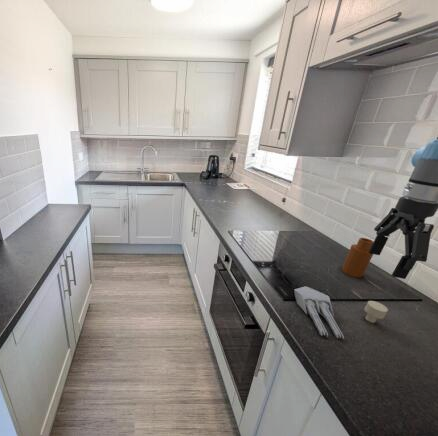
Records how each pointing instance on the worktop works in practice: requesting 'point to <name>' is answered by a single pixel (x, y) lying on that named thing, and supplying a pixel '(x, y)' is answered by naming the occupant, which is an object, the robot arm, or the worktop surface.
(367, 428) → the worktop surface
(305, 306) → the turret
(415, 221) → the robot arm
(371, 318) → the bung
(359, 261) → the bottle
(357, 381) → the worktop surface
